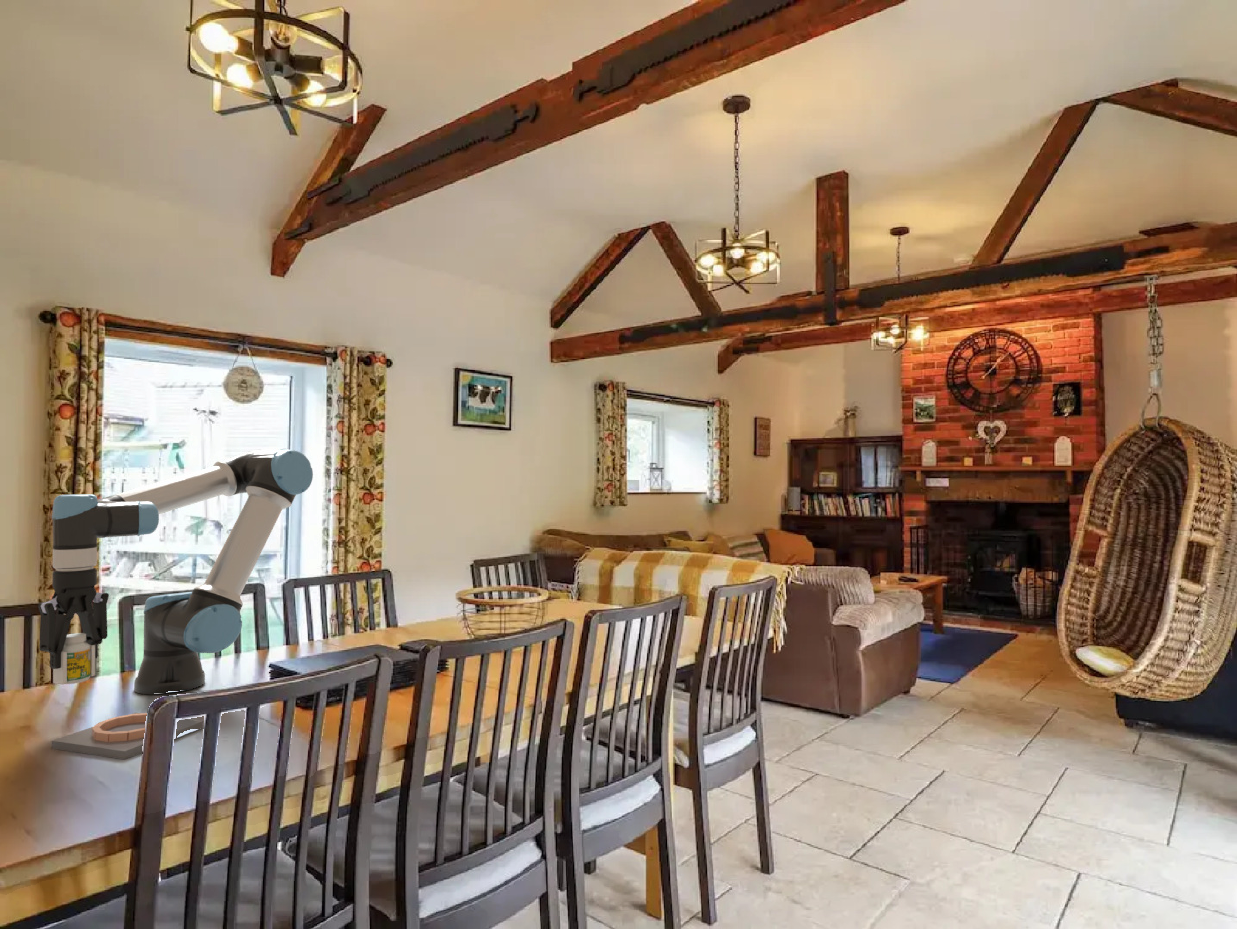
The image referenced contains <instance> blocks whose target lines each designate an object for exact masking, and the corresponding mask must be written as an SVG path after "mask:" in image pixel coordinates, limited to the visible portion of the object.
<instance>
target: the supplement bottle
mask: <svg viewBox="0 0 1237 929" xmlns="http://www.w3.org/2000/svg"><path fill="white" fill-rule="evenodd" d="M63 651H64V652H67V684H66V685H74V684H78V683H83V682H86V681H89V680H90V678H91V676H90V645H89V644H88V643H86V634H85V633H83V632H79V633H78V632H76V633H70V634H68V633H67V637H66V640H65V644H64V648H63Z"/></svg>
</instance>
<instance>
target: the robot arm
mask: <svg viewBox="0 0 1237 929" xmlns="http://www.w3.org/2000/svg"><path fill="white" fill-rule="evenodd" d="M313 472H314V471H313V468H312V464H311V462H310V460H309V459H308V457H307V456H306V455H305V454H303V453H302V452H300V451H298V450H295V449H290V448H289V449H288V448H282V449H281V448H280V449H254V450H251V451H247V452H244V453H241V454H239V455H238V454H237V455H235V456H232V457H228V458H226V459H223V460H219V461H216V462H215V463H214V464H213V467H208V468H204V469H201V470H198V471H195V472H190V473H187V474H183V475H180V476H177V477H173V478H170V479H165V480H163V481H158V482H155V483H152V484H148V485H145V486H141V487H137V488H133V489H130V490H126V491H123V492H120V493H116V494H113V495H109V496H105V497H102V498H98V497H97V495H96V494H60V495H58V496H56V497H55V498H54V499H53V504H52V514H51V519H52V568H53V569H55V570H54V571H52V580H51V581H52V584H51V585H52V588H53V590H54V593H53V596H52V598H51V599H50V600H48V601H46V602H39V603H38V605H37V608H38V610H39V613H40V620H39V621H40V626H39V645H38V646H39V649H38V650H39V652H47V653H49V667H50V669H51V670H53V672H52V675H53V676H52V677H53V678H52V683H53V684H56V685H68V684H67V652H64V651H63V648H64V644H65V640H66V637H67V635H68V632H69V629H70V624H71V621H72V619H74V618H75V614H76V615H77V616H78V619H79V623H80V625H81V630H82V633H85V634H86V641H85V643H88V644H89V645H90V677H94V676H96V659H97V658H98V657H99V645H101V644H102V643H103V640H105V639H107V637H108V608H107V606H108V604H107V603H108V601H109V600H108V599H109V597H110V595H109V593H107V592H97V590H96V587H95V586H96V585H97V583H98V582H97V581H98V577H97V576H98V570H97V569H96V566H97V565H98V539H104V538H116V537H117V538H120V537H132V536H134V537H135V536H137V537H140V536H142V535H150V534H152V533H154V532H156V530H157V528H158V527H159V521H160V515H161V514H163V513H164V514H165V513H168V512H171V511H174V510H178V509H181V508H183V507H187V506H190V505H193V504H194V505H195V504H196V503H199V502H202V501H206V500H209V499H212V498H216V497H219V496H221V495H222V496H226V497H231V496H235V495H238V494H244V493H245V494H246V493H247V496H248V497H247V499H246V501H245V503H244V505H243V507H242V509H241V511H240V513H239V515H238V517H237V518H236V521H235V523H234V524H233V527H232V528H231V530H230V533H229V534H228V537H227V538H226V540H225V542H224V543H223V546H222V548H221V550H220V552H219V554H218V556H217V557H216V560H215V562H214V563H213V566H212V568H211V569H210V572H209V574H208V575H207V578H206V580H205V581H204V583H203V584H201V585H198V586H196V587H194V588H193V590H192V591H187V592H178V593H177V592H176V593H168V594H161V595H153V596H150V597H148V598H147V599H146V600H145V602H144V609H143V658H142V661H141V664H140V667H139V670H138V673H137V676H136V677H135V678H134V683H133V684H134V686H133V690H134V692H135V693H138V694H140V695H141V694H142V695H155V694H154V693H166V692H168V691H180V690H187V691H190V690H193V688H194V689H197V688H199V687H198V686H200V687H201V686H203V685H204V684H205V683H206V673H205V671H204V670H203V664H202V661H201V659H200V655H199V654H215V653H218V652H221V651H224V650H225V649H228V648H229V647H230V646H231V645H233V643H235V642H236V640H237V639H238V637H239V635H240V634H241V631H242V628H243V621H242V619H241V618H242V615H241V613H240V612H241V610H242V608H243V601H242V599H241V594H242V593H243V591H244V589H245V587H246V584H247V582H248V580H249V578H250V576H251V574H252V572H253V569H254V568H255V567H256V564H257V561H258V560H259V558H260V556H261V554H262V551H263V550H264V547H265V545H266V543H267V541H268V539H269V537H270V535H271V533H272V531H273V529H274V527H275V525H276V523H277V521H278V518H279V516H280V514H281V513H282V510H285V509H287V508H290V507H291V506H292V504H293V502H294V499H295V498H296V496H297V495H301V494H303V493H305V492H306V491H307V490H308V489H309V488H310V486H311V485H312V482H313V475H314V473H313ZM202 684H203V685H202ZM196 687H197V688H196Z"/></svg>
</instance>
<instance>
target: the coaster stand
mask: <svg viewBox="0 0 1237 929" xmlns="http://www.w3.org/2000/svg"><path fill="white" fill-rule="evenodd" d="M147 713H148V712H144V713H142V712H133V713H130V714H126V715H120V716H115V717H112V718H108V719H105V720H102V721H99V722H98V723H96V724H95V725H94V726H91V727H87V728H86V729H83V730H79V731H76V732H74V733H71V734H67V735H64V736H61V737H59V738H55V739H53V740H51V749H53V750H59V751H64V752H65V751H66V752H72V751H73V752H74V753H81V754H86V755H93V756H101V757H107V758H113V759H117V760H118V759H119V760H126V759H129V758H132V757H135V756H137V755H139V754H140V755H141V754H142V753H143V752H142V746H143V739H144V733H145V721H146V716H147ZM184 719H185V720H179V721H178V722H177V729H176V739H175V740H177V739H178V738H177V736H178V735H179V734H180V733H183V732H184V731H187V730H190V729H199V730H198V731H200V730H202V729H204V728H203V727H204V721H203V720H199V719H188V718H184ZM200 728H201V729H200Z"/></svg>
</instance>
